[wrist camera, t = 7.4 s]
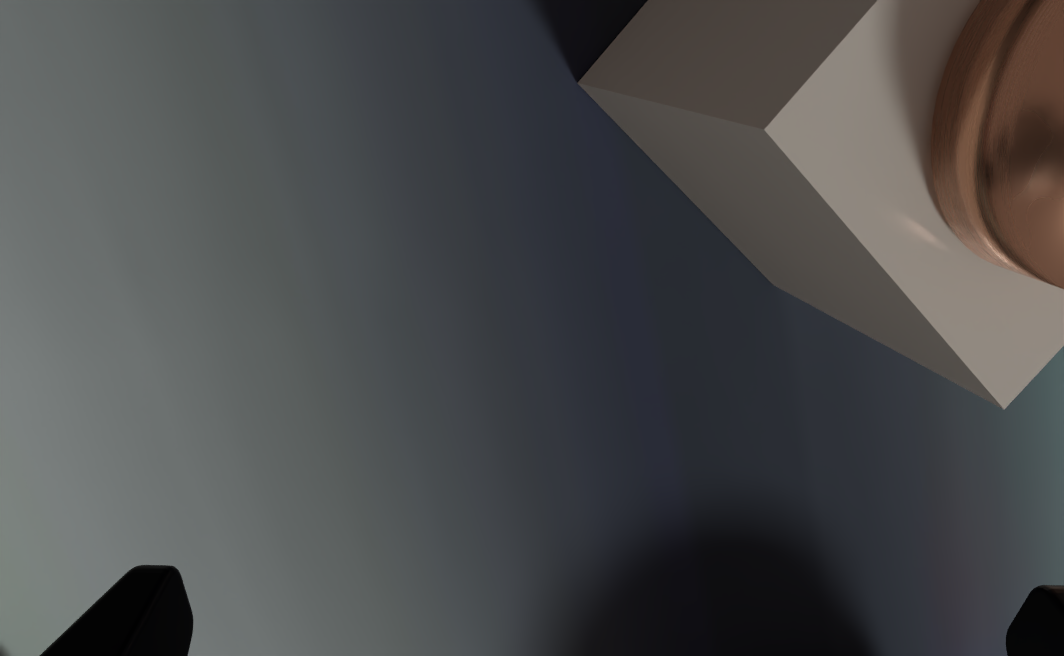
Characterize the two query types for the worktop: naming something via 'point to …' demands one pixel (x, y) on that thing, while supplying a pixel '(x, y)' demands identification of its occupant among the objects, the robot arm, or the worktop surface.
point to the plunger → (1005, 137)
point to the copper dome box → (830, 168)
